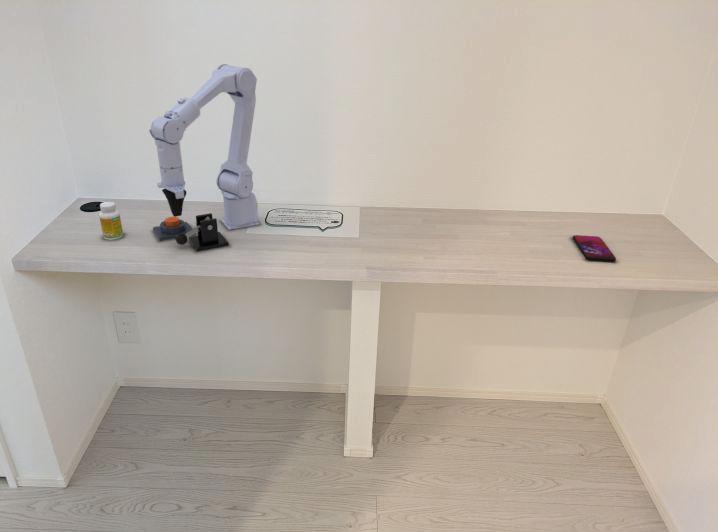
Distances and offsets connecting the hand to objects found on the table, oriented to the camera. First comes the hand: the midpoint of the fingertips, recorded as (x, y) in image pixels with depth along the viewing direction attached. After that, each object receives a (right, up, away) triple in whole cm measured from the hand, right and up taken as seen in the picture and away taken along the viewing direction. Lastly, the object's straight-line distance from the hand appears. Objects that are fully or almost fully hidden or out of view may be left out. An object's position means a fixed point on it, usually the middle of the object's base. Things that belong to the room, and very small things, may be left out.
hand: (177, 215), depth 154 cm
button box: (-4, -3, +12) cm, 13 cm away
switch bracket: (+7, -7, +6) cm, 12 cm away
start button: (-4, -1, +10) cm, 11 cm away
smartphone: (+114, -9, +5) cm, 115 cm away
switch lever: (+5, -5, +3) cm, 8 cm away
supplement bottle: (-20, -5, +9) cm, 23 cm away
